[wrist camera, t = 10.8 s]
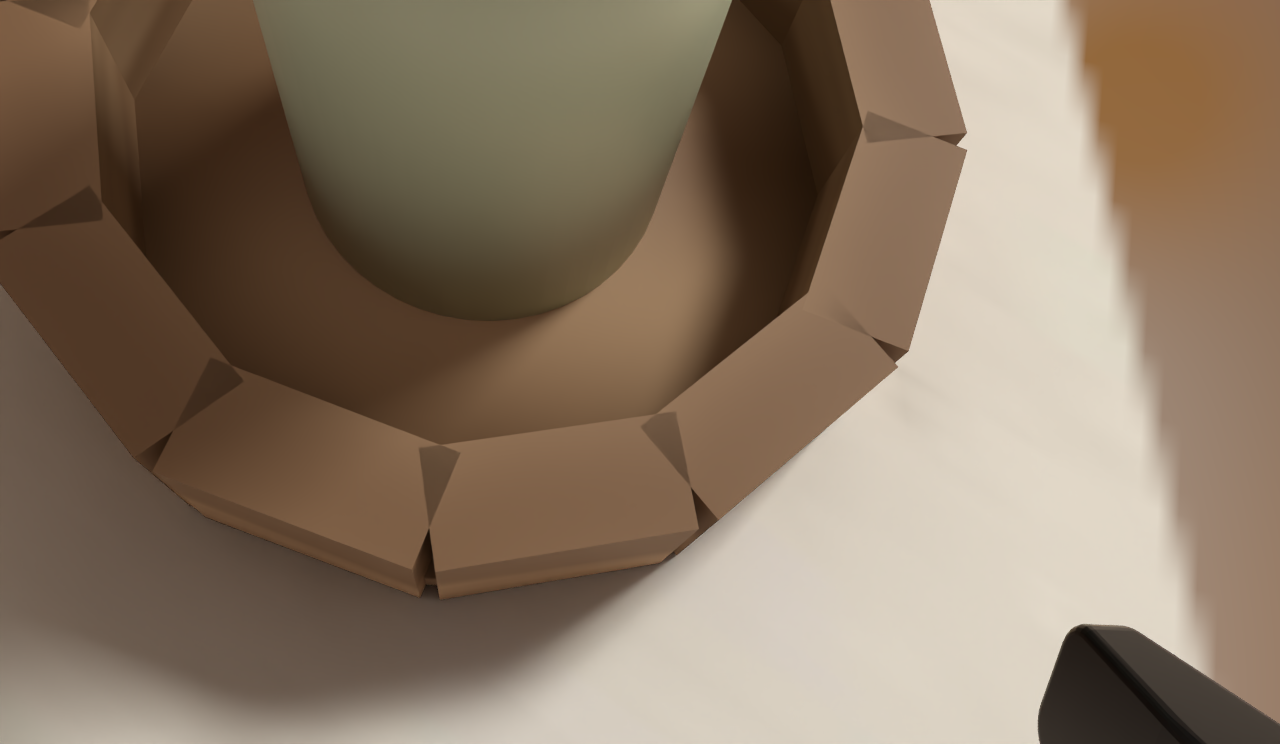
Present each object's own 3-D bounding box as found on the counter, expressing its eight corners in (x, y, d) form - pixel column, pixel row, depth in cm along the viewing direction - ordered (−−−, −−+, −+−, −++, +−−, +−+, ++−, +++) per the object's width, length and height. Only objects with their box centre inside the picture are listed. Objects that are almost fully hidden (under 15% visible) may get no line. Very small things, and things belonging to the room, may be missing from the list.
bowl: (968, 511, 18) (1062, 469, 15) (70, 661, 16) (-17, 645, 13) (788, -183, 22) (838, -321, 19) (29, -149, 19) (-47, -302, 16)
